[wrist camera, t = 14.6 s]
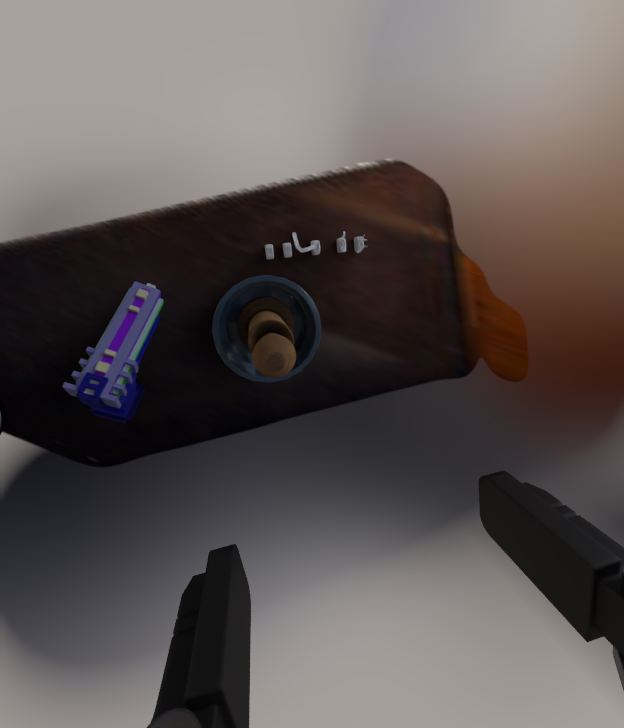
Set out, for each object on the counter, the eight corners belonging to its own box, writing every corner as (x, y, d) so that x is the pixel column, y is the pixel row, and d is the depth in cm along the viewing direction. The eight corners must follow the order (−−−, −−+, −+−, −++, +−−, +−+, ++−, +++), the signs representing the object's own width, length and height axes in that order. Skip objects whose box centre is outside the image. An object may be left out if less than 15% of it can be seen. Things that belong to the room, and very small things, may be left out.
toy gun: (87, 417, 35) (57, 389, 26) (139, 318, 41) (129, 269, 32) (127, 428, 36) (112, 404, 27) (172, 329, 42) (171, 285, 34)
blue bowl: (230, 377, 40) (227, 392, 34) (207, 285, 37) (199, 286, 31) (318, 358, 41) (328, 370, 36) (303, 268, 38) (311, 266, 33)
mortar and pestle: (297, 346, 40) (330, 397, 22) (245, 357, 39) (237, 418, 22) (287, 291, 38) (315, 301, 21) (232, 301, 37) (212, 321, 20)
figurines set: (266, 261, 37) (267, 260, 34) (263, 235, 36) (264, 231, 34) (366, 252, 39) (375, 250, 36) (365, 226, 38) (373, 222, 35)
